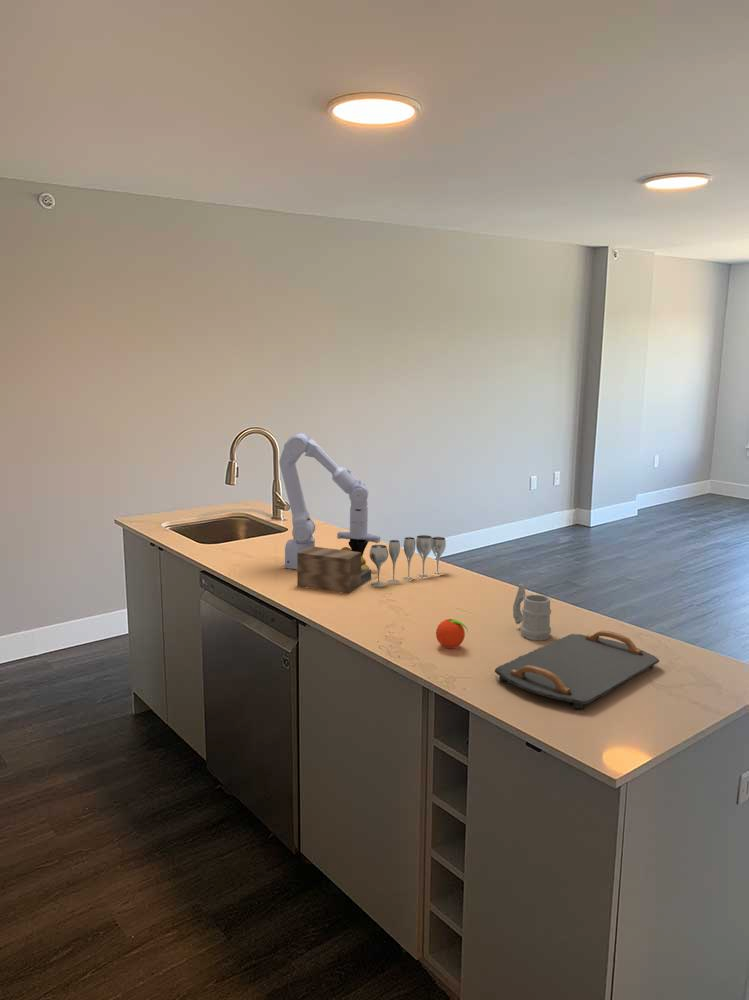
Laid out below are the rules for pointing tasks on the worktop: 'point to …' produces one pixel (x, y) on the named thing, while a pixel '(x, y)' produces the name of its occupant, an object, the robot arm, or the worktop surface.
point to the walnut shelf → (330, 569)
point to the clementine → (450, 633)
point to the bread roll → (363, 562)
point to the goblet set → (407, 553)
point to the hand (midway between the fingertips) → (358, 561)
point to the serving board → (577, 667)
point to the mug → (532, 615)
